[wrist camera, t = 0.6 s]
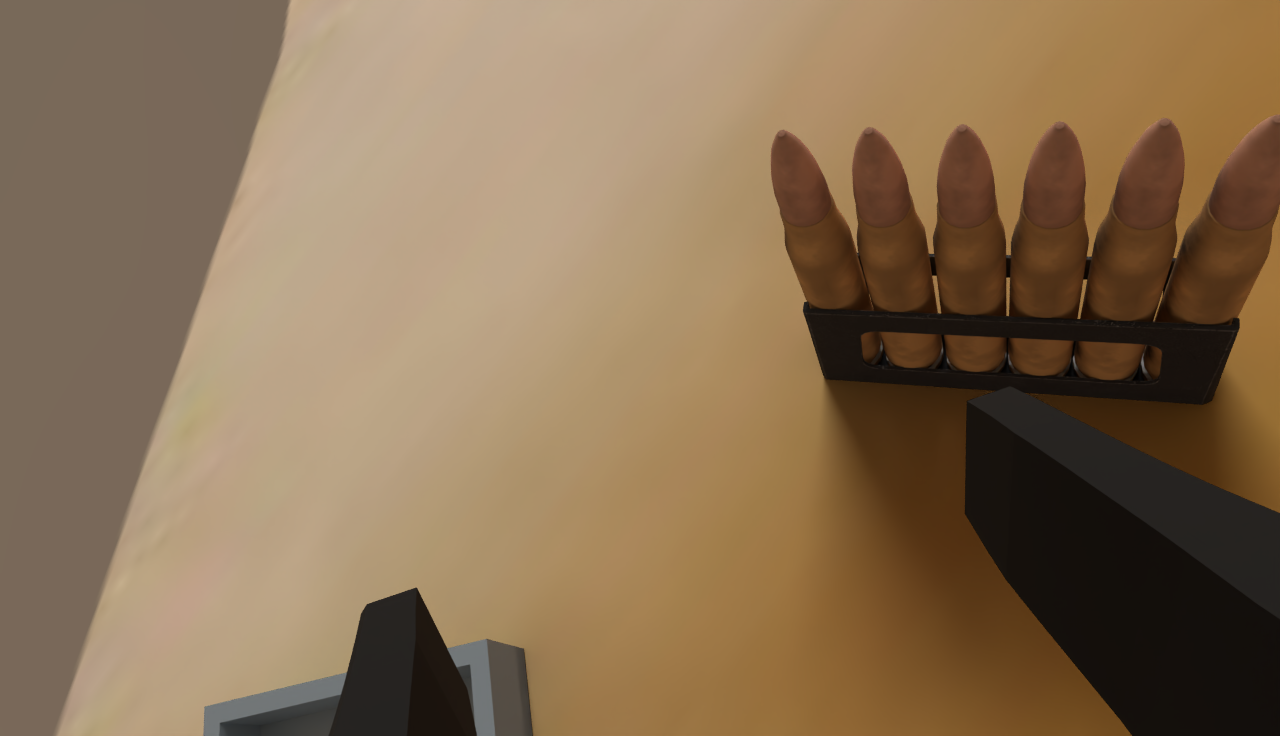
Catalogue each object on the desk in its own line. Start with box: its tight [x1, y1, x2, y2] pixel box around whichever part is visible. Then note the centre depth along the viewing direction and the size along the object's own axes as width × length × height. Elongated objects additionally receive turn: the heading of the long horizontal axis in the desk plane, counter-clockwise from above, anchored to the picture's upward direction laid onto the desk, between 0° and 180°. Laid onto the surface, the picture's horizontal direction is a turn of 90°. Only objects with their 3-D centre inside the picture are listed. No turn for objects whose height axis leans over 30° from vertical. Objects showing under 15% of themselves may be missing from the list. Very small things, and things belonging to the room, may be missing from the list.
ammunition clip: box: [771, 115, 1280, 405], centre depth 24 cm, size 11×2×12 cm, turn 79°
